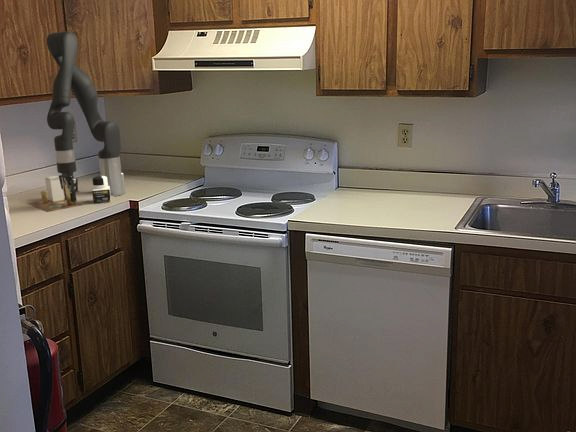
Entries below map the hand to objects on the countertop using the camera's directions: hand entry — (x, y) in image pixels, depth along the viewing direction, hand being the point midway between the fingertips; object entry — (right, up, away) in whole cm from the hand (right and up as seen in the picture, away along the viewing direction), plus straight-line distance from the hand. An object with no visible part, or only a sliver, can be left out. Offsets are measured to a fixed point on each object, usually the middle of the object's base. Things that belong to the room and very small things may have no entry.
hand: (70, 200), depth 269 cm
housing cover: (-11, +1, +12) cm, 16 cm away
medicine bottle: (+12, -2, +6) cm, 13 cm away
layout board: (-8, -2, +4) cm, 9 cm away
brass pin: (0, -2, 0) cm, 2 cm away
